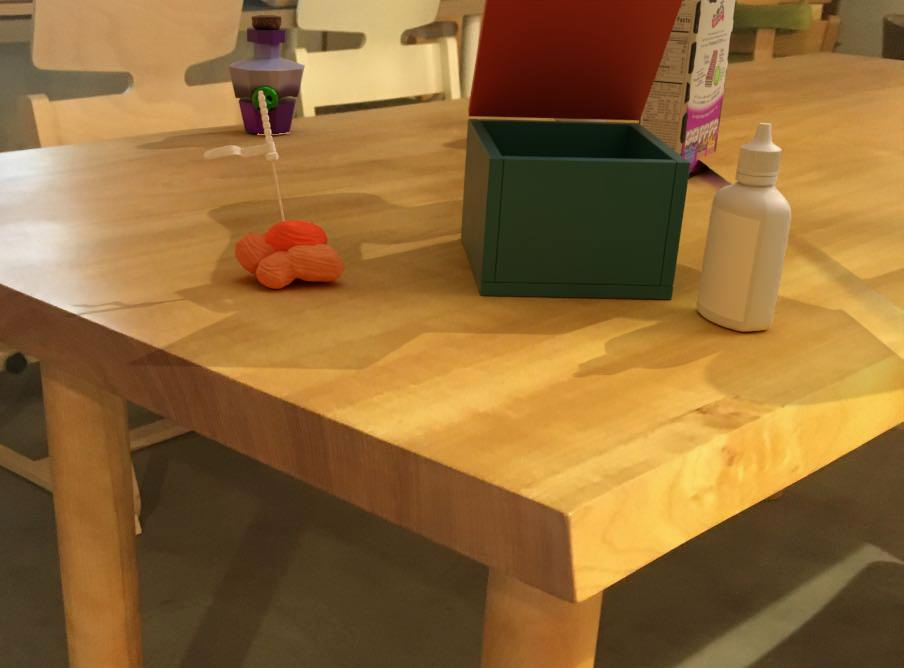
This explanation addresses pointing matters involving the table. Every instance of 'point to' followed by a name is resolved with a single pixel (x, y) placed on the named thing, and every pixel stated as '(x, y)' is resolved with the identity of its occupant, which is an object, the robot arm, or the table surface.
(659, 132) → the candy bar box
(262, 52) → the potion bottle
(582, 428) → the table surface
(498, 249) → the open storage box
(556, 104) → the lid
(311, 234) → the peanut cluster ornament
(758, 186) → the eye dropper bottle
